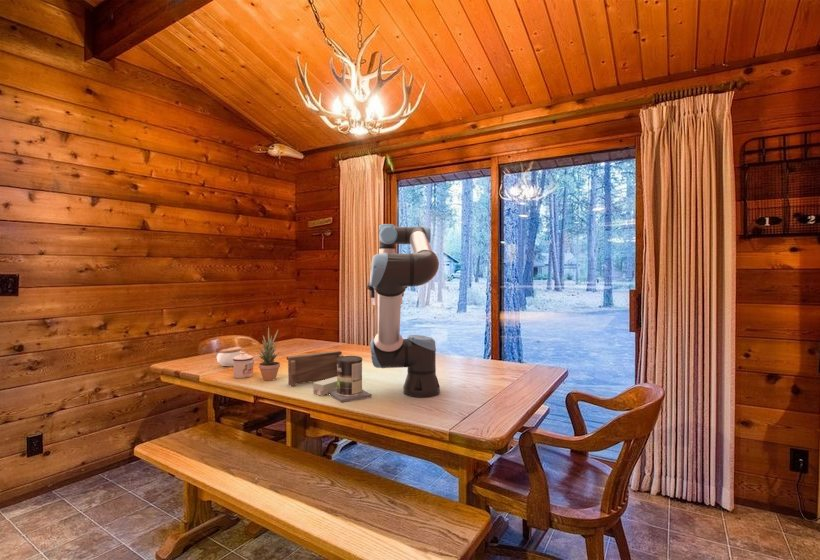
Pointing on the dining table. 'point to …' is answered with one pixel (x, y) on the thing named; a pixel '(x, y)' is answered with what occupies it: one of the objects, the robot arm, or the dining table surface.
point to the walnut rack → (312, 367)
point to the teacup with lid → (243, 365)
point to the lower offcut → (323, 391)
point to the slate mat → (343, 398)
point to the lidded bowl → (227, 354)
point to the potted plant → (269, 359)
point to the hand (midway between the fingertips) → (387, 304)
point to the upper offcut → (325, 384)
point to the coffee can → (349, 376)
